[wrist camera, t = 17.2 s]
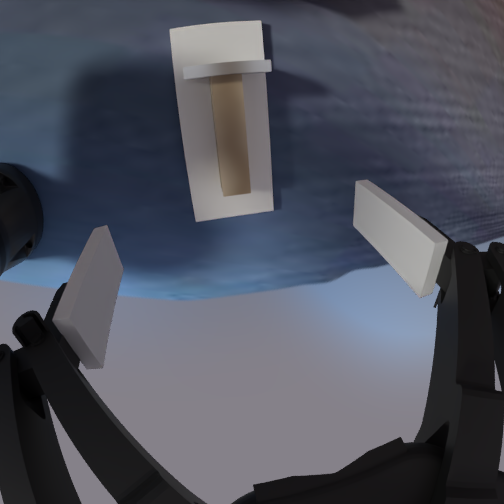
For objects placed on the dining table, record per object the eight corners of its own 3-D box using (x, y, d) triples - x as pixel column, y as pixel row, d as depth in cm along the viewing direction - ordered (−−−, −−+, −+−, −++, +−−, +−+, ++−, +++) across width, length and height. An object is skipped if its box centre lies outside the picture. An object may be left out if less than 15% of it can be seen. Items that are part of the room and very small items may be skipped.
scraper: (199, 187, 35) (201, 207, 30) (185, 70, 27) (182, 67, 22) (265, 179, 36) (277, 196, 31) (258, 63, 28) (270, 59, 23)
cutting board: (195, 218, 38) (195, 222, 37) (170, 30, 25) (169, 29, 24) (271, 207, 39) (273, 210, 38) (259, 22, 26) (261, 20, 25)
